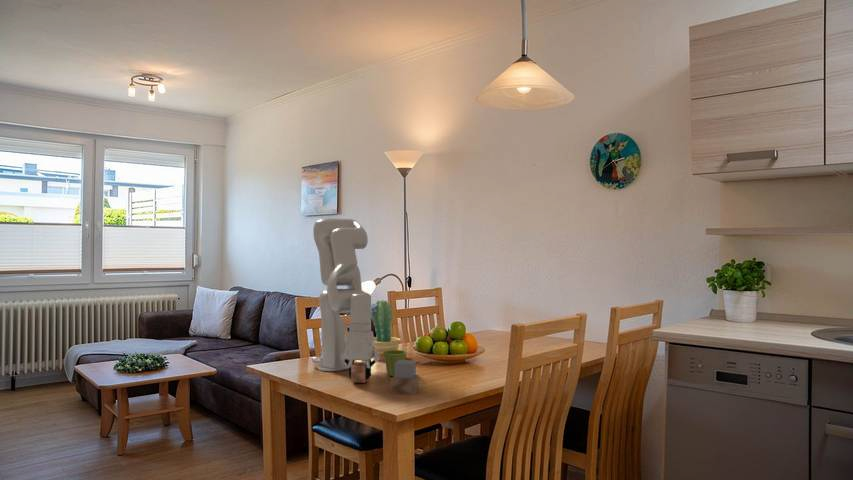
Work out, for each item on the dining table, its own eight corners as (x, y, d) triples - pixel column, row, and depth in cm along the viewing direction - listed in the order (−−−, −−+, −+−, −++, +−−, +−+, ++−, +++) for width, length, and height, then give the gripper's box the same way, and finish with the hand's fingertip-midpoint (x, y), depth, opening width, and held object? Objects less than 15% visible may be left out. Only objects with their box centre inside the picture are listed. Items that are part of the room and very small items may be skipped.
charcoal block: (394, 378, 196) (394, 363, 196) (398, 374, 202) (398, 359, 202) (412, 379, 195) (412, 364, 195) (415, 375, 201) (415, 360, 201)
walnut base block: (390, 394, 195) (390, 379, 195) (396, 388, 203) (396, 374, 203) (414, 395, 193) (414, 380, 193) (418, 389, 201) (418, 374, 201)
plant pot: (388, 378, 216) (388, 355, 216) (378, 373, 224) (378, 351, 224) (411, 376, 220) (411, 353, 220) (401, 371, 229) (401, 349, 229)
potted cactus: (370, 354, 265) (370, 298, 265) (403, 354, 263) (403, 299, 263) (361, 360, 250) (361, 302, 250) (397, 361, 247) (397, 302, 248)
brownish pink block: (351, 381, 208) (351, 364, 208) (355, 378, 213) (355, 361, 213) (364, 382, 207) (364, 365, 207) (368, 379, 212) (368, 362, 212)
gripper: (334, 328, 207) (333, 379, 208) (380, 330, 204) (380, 382, 205) (341, 324, 215) (340, 374, 215) (386, 326, 212) (385, 376, 212)
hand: (359, 377), depth 210 cm, fingers closed on brownish pink block, 4 cm apart
